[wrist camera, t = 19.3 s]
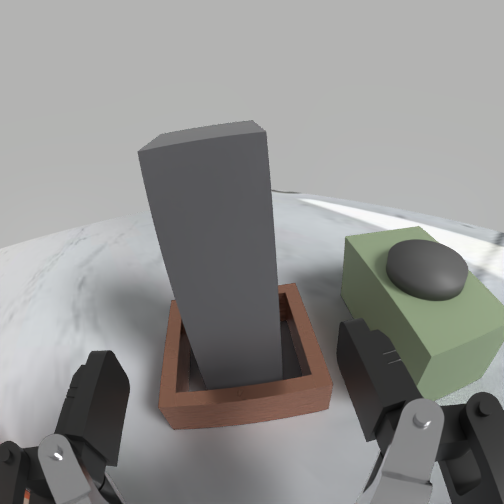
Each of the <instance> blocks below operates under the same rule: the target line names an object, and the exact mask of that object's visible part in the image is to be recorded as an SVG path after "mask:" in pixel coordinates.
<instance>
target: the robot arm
mask: <svg viewBox="0 0 504 504" xmlns="http://www.w3.org/2000/svg"><path fill="white" fill-rule="evenodd" d="M337 362H338V366H339V369H340V372H341V374H342V377H343V379H344V382H345V385H346V387H347V390H348V393H349V395H350V398H351V400H352V403H353V406H354V409H355V411H356V414H357V417H358V419H359V422H360V425H361V428H362V430H363V433H364V436H365V439H366V442H369V441H372V440H375V439H376V440H377V442H378V445H379V448H380V450H379V453H378V455H377V458H376V460H375V463H374V465H373V467H372V470H371V472H370V474H369V476H368V479H367V481H366V483H365V485H364V487H363V489H362V492H361V493H360V495H359V497H358V499H357V500H356V502H355V503H354V504H428V502H429V499H430V496H431V492H432V483H430V475H431V472H432V469H433V465H434V462H436V461H438V463H439V466H440V469H441V472H442V475H443V478H444V481H445V484H446V487H447V490H448V493H449V496H450V499H451V502H452V504H504V410H503V408H502V406H501V404H500V403H499V401H498V399H497V398H496V397H495V396H493V395H492V394H490V393H486V392H479V393H476V394H474V395H473V396H472V397H471V398H470V399H469V400H468V402H467V403H466V404H458V405H448V406H439V405H438V404H437V403H436V402H434V401H432V400H429V399H425V398H424V397H423V396H422V395H421V393H420V392H419V390H418V388H417V386H416V384H415V383H414V381H413V379H412V377H411V375H410V373H409V372H408V370H407V368H406V366H405V364H404V363H403V361H401V357H400V356H399V354H398V352H396V349H395V347H394V345H393V344H392V342H391V340H390V338H389V337H387V336H386V335H385V334H384V333H382V332H381V331H380V330H378V329H377V330H372V331H370V329H369V328H368V326H367V324H366V322H365V321H364V319H363V318H358V319H353V320H348V321H344V322H341V323H340V327H339V336H338V344H337ZM69 387H70V389H68V392H67V395H66V397H67V398H65V401H64V404H63V407H62V410H61V413H60V417H59V420H58V423H57V426H56V430H55V432H54V434H51V435H49V436H47V437H45V438H44V439H43V440H42V442H41V443H40V445H39V446H38V447H31V448H23V449H22V448H20V447H19V446H18V445H17V444H16V443H14V442H12V441H6V442H4V443H2V444H1V445H0V504H23V503H24V496H25V490H26V488H27V489H28V490H30V497H29V504H127V503H126V501H125V500H124V498H123V497H122V495H121V494H120V492H119V491H118V489H117V487H116V486H115V484H114V482H113V481H112V479H111V477H110V476H109V474H108V473H107V472H106V471H105V467H106V465H108V466H116V467H117V462H118V455H119V448H120V442H121V436H122V430H123V424H124V419H125V413H126V408H127V403H128V398H129V393H130V384H129V379H128V377H127V375H126V373H125V372H124V370H123V368H122V367H121V365H120V363H119V361H118V360H117V358H116V356H115V354H114V353H113V352H112V351H110V350H107V351H92V352H91V353H90V354H89V357H88V359H87V362H86V365H81V367H80V368H79V369H78V370H77V372H76V373H75V374H74V375H73V378H72V381H71V384H70V386H69Z"/></svg>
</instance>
